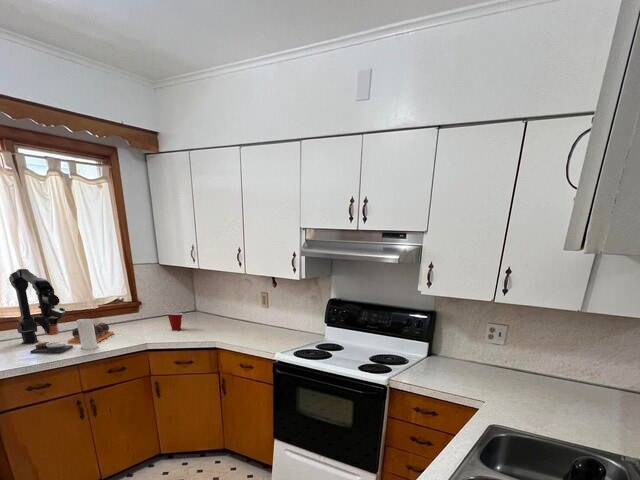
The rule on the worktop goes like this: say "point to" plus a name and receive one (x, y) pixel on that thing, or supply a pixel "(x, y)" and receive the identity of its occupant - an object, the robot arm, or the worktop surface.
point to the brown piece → (100, 333)
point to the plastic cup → (175, 320)
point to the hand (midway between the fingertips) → (51, 332)
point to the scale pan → (54, 344)
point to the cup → (87, 333)
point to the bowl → (53, 329)
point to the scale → (51, 349)
